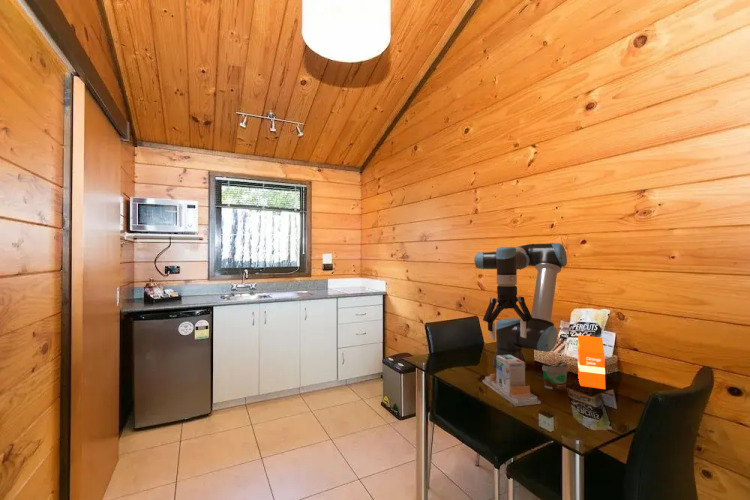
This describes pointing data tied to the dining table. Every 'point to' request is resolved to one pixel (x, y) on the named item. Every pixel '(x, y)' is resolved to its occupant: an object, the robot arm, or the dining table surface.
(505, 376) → the light bulb box
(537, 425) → the dining table surface
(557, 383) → the food container
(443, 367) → the dining table surface
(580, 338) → the orange juice
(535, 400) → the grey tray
